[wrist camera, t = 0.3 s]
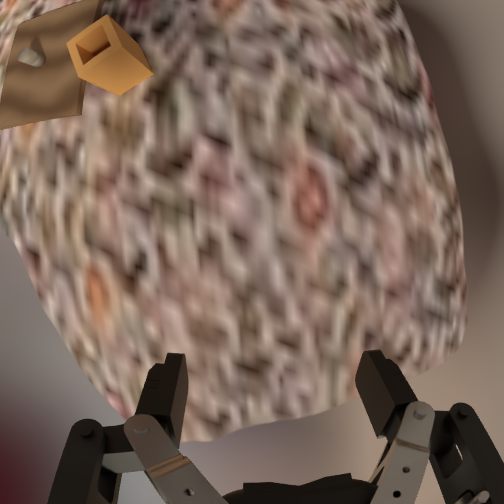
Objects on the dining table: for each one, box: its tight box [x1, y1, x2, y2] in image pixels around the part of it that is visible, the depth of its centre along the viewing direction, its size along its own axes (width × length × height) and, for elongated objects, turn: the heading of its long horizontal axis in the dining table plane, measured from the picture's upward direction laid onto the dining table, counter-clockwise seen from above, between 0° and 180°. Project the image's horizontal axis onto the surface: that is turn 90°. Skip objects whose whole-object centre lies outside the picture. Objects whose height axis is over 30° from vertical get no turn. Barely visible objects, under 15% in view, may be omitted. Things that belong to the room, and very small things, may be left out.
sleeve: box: [66, 14, 153, 96], centre depth 28 cm, size 6×6×11 cm
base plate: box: [0, 0, 104, 130], centre depth 29 cm, size 20×18×6 cm
